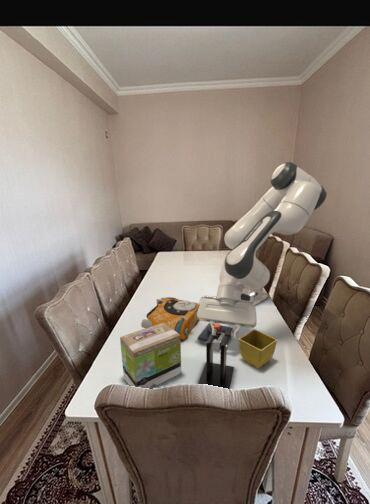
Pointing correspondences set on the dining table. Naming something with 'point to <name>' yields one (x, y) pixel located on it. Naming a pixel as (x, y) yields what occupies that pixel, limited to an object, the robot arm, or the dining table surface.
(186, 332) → the device
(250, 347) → the flower pot
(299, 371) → the dining table surface
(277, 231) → the robot arm
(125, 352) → the tea box
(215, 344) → the lever
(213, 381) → the bracket
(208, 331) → the button block
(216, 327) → the button
